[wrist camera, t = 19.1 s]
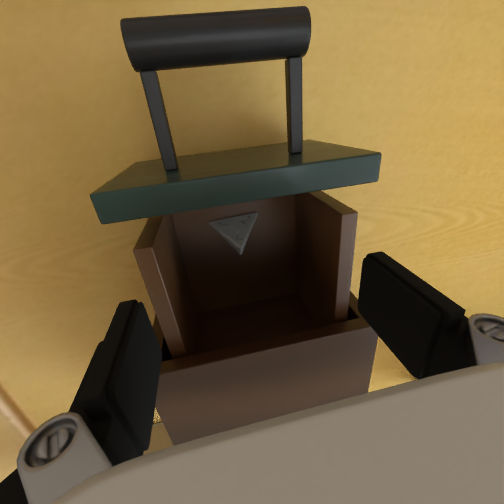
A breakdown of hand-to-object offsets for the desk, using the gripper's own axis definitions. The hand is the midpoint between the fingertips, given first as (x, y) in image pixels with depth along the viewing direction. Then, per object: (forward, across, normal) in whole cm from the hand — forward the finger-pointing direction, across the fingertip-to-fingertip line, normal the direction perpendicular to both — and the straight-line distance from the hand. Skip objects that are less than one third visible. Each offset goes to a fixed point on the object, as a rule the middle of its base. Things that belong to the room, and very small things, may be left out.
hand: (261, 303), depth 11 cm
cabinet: (+10, 0, +10) cm, 15 cm away
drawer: (+9, 0, -2) cm, 10 cm away
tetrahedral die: (+8, 0, 0) cm, 9 cm away
